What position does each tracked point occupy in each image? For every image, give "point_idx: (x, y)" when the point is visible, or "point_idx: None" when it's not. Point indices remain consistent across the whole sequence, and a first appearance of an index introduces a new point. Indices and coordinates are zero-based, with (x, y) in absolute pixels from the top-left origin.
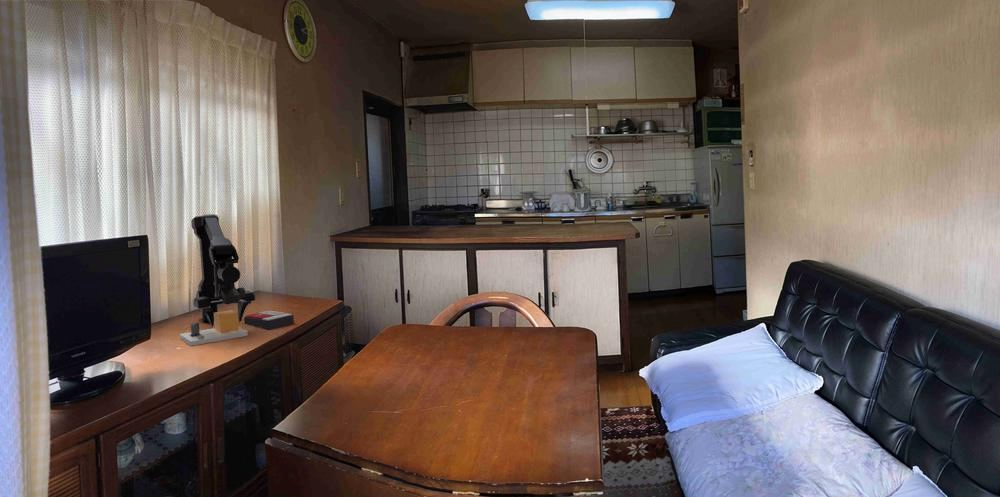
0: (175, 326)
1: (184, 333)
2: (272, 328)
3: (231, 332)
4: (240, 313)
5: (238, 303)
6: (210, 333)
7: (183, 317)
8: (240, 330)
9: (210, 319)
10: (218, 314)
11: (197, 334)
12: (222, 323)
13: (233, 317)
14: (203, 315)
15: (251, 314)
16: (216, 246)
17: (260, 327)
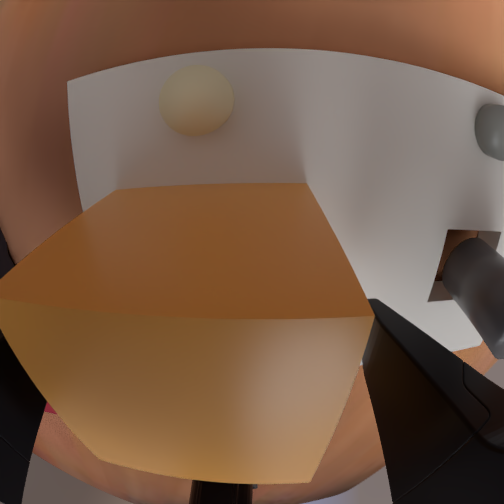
0: (350, 466)
1: (464, 345)
2: None
3: (215, 68)
4: (7, 343)
5: (6, 478)
6: (382, 236)
7: (280, 500)
8: (106, 153)
9: (436, 343)
10: (317, 418)
11: (476, 243)
12: (288, 221)
13: (77, 261)
14: (249, 494)
15: (46, 409)
16: None
17: (8, 255)
